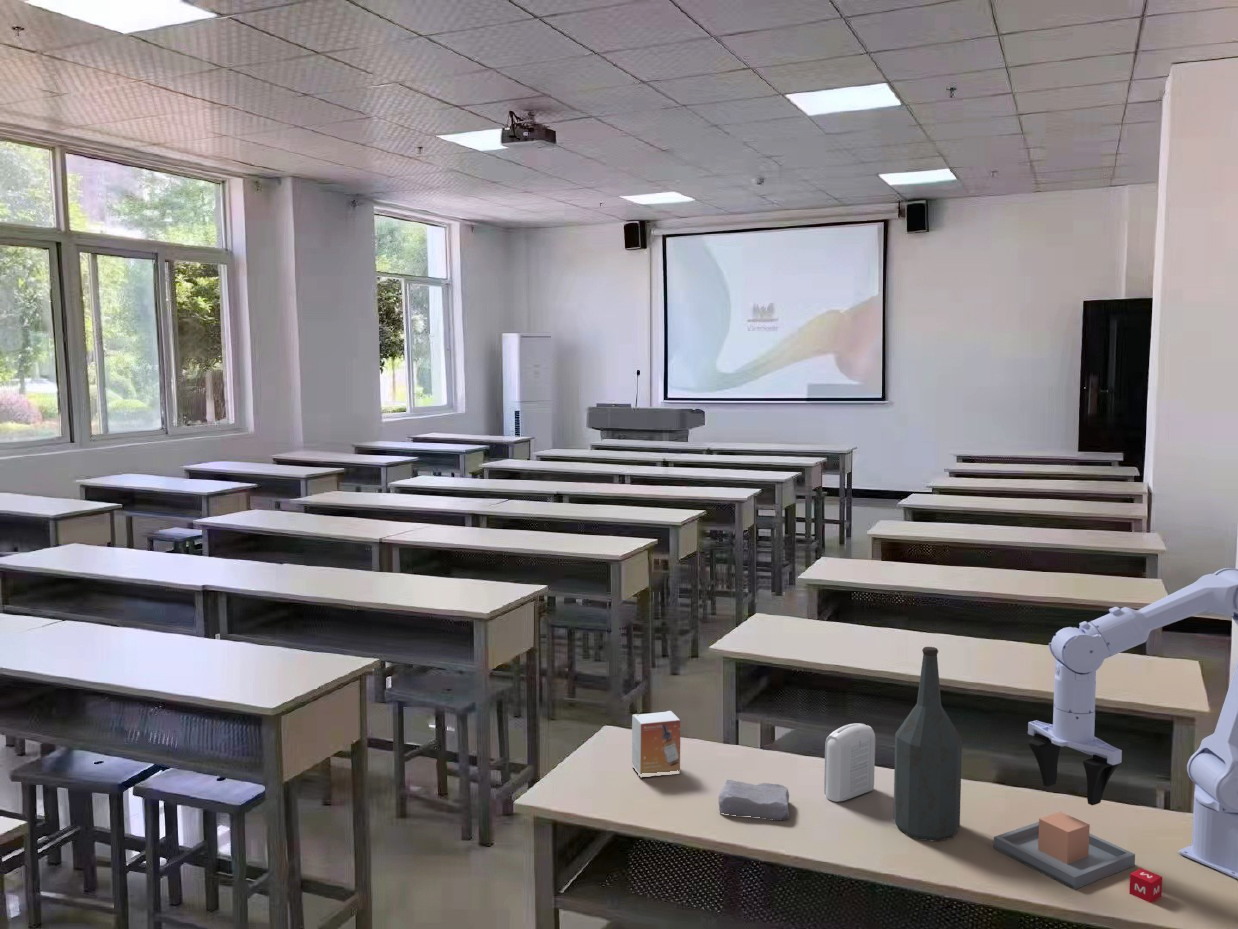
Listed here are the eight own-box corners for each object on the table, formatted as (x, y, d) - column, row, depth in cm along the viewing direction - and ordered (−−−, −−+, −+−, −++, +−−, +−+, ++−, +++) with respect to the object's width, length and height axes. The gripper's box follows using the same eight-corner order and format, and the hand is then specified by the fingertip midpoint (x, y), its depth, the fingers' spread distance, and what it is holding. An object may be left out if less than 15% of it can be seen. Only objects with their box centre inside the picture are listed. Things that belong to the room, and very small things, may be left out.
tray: (1134, 865, 142) (1135, 854, 142) (1074, 889, 135) (1074, 877, 135) (1052, 827, 154) (1053, 817, 154) (993, 848, 148) (993, 836, 148)
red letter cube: (1129, 894, 134) (1129, 874, 134) (1140, 888, 136) (1140, 867, 136) (1150, 903, 132) (1151, 883, 132) (1161, 897, 134) (1162, 876, 133)
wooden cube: (1088, 856, 144) (1089, 824, 143) (1066, 864, 142) (1068, 832, 141) (1059, 842, 148) (1060, 811, 148) (1038, 850, 146) (1039, 818, 145)
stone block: (722, 803, 168) (716, 817, 159) (724, 775, 169) (718, 787, 159) (790, 812, 166) (788, 826, 156) (791, 783, 166) (789, 796, 157)
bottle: (949, 848, 148) (954, 660, 145) (887, 833, 153) (890, 651, 150) (964, 822, 156) (969, 644, 154) (905, 808, 161) (908, 636, 159)
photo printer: (858, 782, 172) (860, 716, 171) (877, 790, 169) (879, 723, 168) (820, 796, 166) (821, 728, 165) (839, 805, 163) (840, 735, 162)
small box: (639, 779, 174) (639, 724, 173) (631, 768, 179) (631, 713, 178) (681, 774, 176) (681, 719, 175) (671, 763, 181) (671, 709, 180)
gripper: (1016, 698, 149) (1013, 782, 150) (1101, 727, 136) (1098, 818, 137) (1045, 691, 152) (1043, 773, 153) (1131, 718, 139) (1128, 807, 141)
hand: (1071, 794), depth 145 cm, fingers open, 7 cm apart
